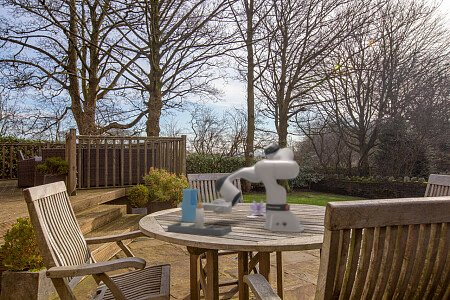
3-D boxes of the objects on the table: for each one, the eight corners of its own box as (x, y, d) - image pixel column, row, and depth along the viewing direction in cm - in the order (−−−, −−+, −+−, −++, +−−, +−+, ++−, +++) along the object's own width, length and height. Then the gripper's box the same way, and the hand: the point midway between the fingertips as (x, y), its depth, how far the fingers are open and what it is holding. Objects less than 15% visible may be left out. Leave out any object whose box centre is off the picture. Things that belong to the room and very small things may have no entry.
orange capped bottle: (206, 228, 195) (206, 202, 195) (201, 230, 190) (201, 203, 190) (197, 227, 197) (197, 202, 197) (193, 229, 192) (193, 203, 192)
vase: (189, 222, 223) (190, 190, 224) (180, 221, 228) (181, 189, 229) (198, 220, 229) (198, 189, 230) (189, 219, 234) (189, 188, 235)
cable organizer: (232, 231, 194) (232, 225, 194) (221, 236, 181) (221, 230, 181) (180, 227, 206) (180, 221, 206) (167, 231, 193) (167, 225, 193)
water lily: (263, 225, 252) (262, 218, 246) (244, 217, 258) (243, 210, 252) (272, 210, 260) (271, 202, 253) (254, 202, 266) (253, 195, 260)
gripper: (203, 199, 222) (193, 201, 209) (234, 202, 214) (225, 204, 201) (203, 209, 222) (192, 212, 209) (233, 212, 214) (224, 215, 201)
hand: (208, 208), depth 205 cm, fingers open, 8 cm apart
